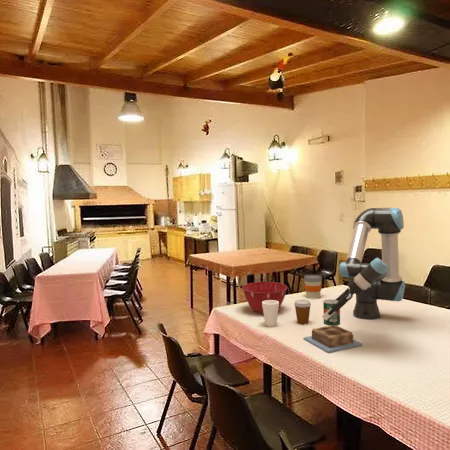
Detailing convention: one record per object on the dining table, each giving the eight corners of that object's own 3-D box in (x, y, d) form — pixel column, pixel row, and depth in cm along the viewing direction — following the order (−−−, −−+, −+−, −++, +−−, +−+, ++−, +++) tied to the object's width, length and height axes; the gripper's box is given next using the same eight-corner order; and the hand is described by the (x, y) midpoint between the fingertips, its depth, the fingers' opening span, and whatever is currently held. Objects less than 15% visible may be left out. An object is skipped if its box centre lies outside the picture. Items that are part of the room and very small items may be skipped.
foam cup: (268, 328, 220) (267, 305, 219) (259, 324, 228) (258, 301, 227) (282, 325, 224) (282, 302, 224) (273, 321, 233) (272, 299, 232)
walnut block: (334, 333, 205) (334, 324, 205) (353, 342, 193) (353, 332, 192) (311, 338, 200) (311, 328, 200) (329, 347, 187) (329, 337, 187)
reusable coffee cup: (304, 299, 279) (304, 278, 278) (303, 295, 291) (303, 274, 290) (322, 299, 277) (322, 278, 275) (321, 295, 289) (321, 274, 288)
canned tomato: (320, 322, 197) (319, 300, 197) (333, 320, 201) (332, 298, 200) (330, 327, 190) (330, 304, 190) (343, 324, 193) (343, 302, 193)
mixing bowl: (295, 314, 245) (294, 289, 244) (250, 319, 238) (250, 293, 237) (277, 302, 273) (277, 280, 271) (237, 306, 266) (237, 283, 265)
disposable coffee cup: (311, 325, 223) (311, 304, 222) (294, 324, 225) (293, 303, 224) (311, 320, 232) (310, 299, 232) (294, 319, 234) (294, 299, 233)
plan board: (335, 333, 209) (335, 331, 209) (362, 345, 191) (362, 343, 191) (303, 339, 202) (303, 337, 202) (328, 353, 183) (328, 351, 183)
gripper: (365, 295, 180) (328, 328, 186) (364, 285, 199) (331, 315, 205) (352, 283, 181) (317, 316, 187) (353, 274, 201) (320, 304, 207)
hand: (324, 315), depth 196 cm, fingers closed on canned tomato, 8 cm apart
